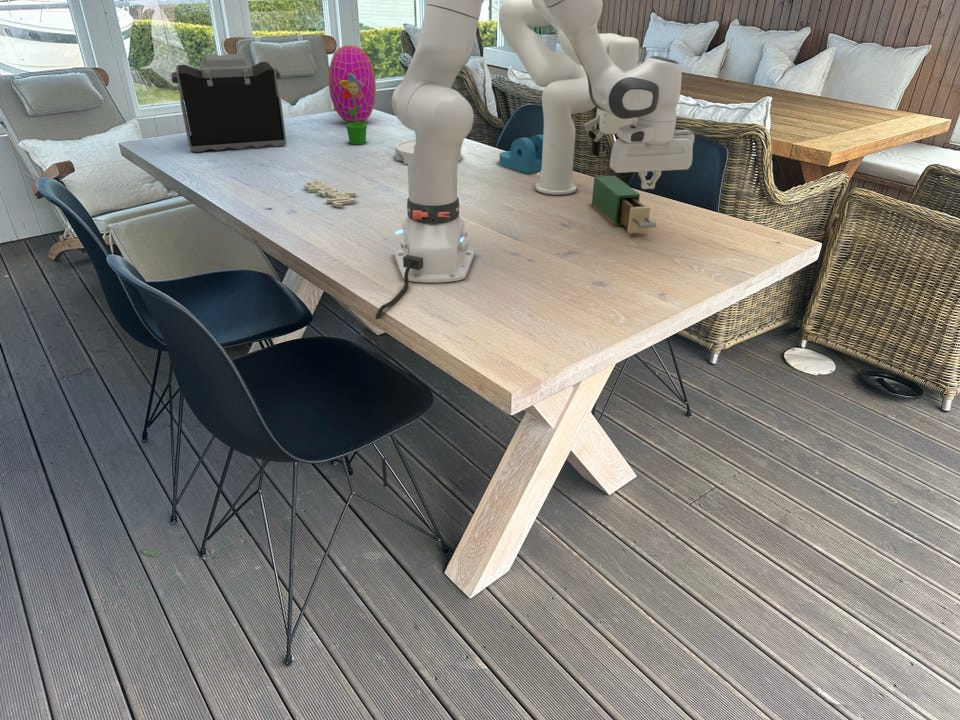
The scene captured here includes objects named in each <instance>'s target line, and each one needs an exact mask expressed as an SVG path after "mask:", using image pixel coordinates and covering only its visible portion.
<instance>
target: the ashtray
mask: <svg viewBox="0 0 960 720" xmlns="http://www.w3.org/2000/svg"><path fill="white" fill-rule="evenodd" d="M415 143H416V138H414V139H408V140H404V141H399V142H398V143H396V144H395V146H394V150H395V151H394V152H395V153H394V154H395V160H396V161H397V162H403V164H404V165H408V163H409V161H410V160H411V159H412V157H413V153H414V149H415ZM461 158H462V149H461V150H460V154H459V159H458V162H459V161H460V160H462V159H461Z"/></svg>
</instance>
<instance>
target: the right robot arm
mask: <svg viewBox="0 0 960 720" xmlns="http://www.w3.org/2000/svg"><path fill="white" fill-rule="evenodd" d="M498 10H499V11H498V24H499V27H500V31H501V35H502V36H503V39H504V40H505V41H506V43H507V44H508V46H509V47H510V48H511V50H512V51H513V52H514V53H515V54H516V55H517V57H518V59H519V61H520V63H521V64H522V65H523V67H524V69H525V71H526V72H527V74H528V75H529V77H530V78H531V80H532V81H533V83H534V84H535V85H536V86H538V87H541V88H544V89H543V91H542V93H541V106H542V115H543V151H542V169H541V171H539V172H536V173H535V176H536V177H537V178H539V181H538V182H536V183H535V186H534V187H535V190H536V191H537V192H539V193H541V194H546V195H551V196H552V195H553V196H565V195H571V194H573V193H575V192H576V191H577V185H576V184H575V183H574V182H573V173H574V172H573V171H574V159H575V158H574V157H575V147H576V125H575V123H574V120H573V118H572V115H574V114H582V113H588V112H590V111H592V110H593V109H595V108H596V106H595V105H594V104H593V103H592V101H591V99H590V95H589V87H588V79H587V75H586V72H585V70H584V68H583V66H582V64H581V62H580V60H579V58H578V56H577V54H576V52H575V50H574V48H573V46H572V44H571V42H570V41H569V39H568V38H567V37H566V35H565V34H564V33H563V31H562V30H561V29H560V28H559V26H558V25H557V24H556V22H555V21H554V19H553V18H552V16H551V15H550V13H549V11H548V9H547V8H546V6H545V4H544V2H543V0H504V1H503V2H502V3H501V4H500V7H499V9H498ZM547 26H552V27H553V28H554V29H555V30H556V31H557V32H558V42H559V45H560V48H561V50H558V51H556V50H555V51H554V50H552V49H550V48H549V47H548V45H546V43H545V41H544V40H543V38H542V37H541V36H540V35H539V34H538V33H537V32H535V31H534V30H532V29H531V28H536V27H537V28H539V27H547ZM599 36H600V38H601V40H602V42H603V44H604V47H605V49H606V51H607V53H608V55H609V57H610V59H611V61H612V62H613V63H614V64H615V65H616V66H617V67H619V68H620V69H622V70H623V71H625V72H626V71H629V70H632V69H634V68H636V67H638V58H639V51H640V41H639V39H637V38H636V37H631V36H621V35H619V34H617V33H610V32H609V33H599ZM635 121H638V117H635V118H630V119H621V118H618V117H616V116H614V115H612V114H610V113H608V112H606V111H603V110H600V109H598V108H597V109H596V114H595V117H594V118H593V119H591V120H589V121H588V122H586V123H584V125H583V126H584V129H585V131H586V134H587V136H588V137H589V138H590V140H592V141H591V153H592V155H593V156H594V157H596V158H598V157H599V156H600V147H601V142H600V140H601V138H602V137H603V136H604V135H617V129H618V128H620V127H623V126H625V125H628V124H631V123H633V122H635ZM593 127H594V132H593V129H592V128H593Z"/></svg>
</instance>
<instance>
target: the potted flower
mask: <svg viewBox="0 0 960 720" xmlns="http://www.w3.org/2000/svg"><path fill="white" fill-rule="evenodd" d="M348 78H349V81H346V80H342V81H341V82H340V83H339V84H340V85H341V86H342V87H343V88H346V89H347V90H345V91H344V93H343V94H342V97H341V99H348V98H350V97H351V96H352V95H353V100H354V110H349V111H348V112H349V114H351V115H355V123H349V122H348V123H347V124H346V125H345V128H346V131H347V136H348V141H349V144H352V145H363V144H366V143H367V129H368V124H367V123H366V122H365V123H364V122H361V123H357V116H356V110H358V109H359V106H356V103H355V95H356V97H357V98H358V99H359V100H362V98H363V93H362V92H361V91H360V90H361V89H363V84H362V82H361V81H358V82H357V83H356V78H355V76H354V75H352V74H350V73H348Z"/></svg>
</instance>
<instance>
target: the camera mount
mask: <svg viewBox="0 0 960 720" xmlns="http://www.w3.org/2000/svg"><path fill="white" fill-rule="evenodd" d="M542 151H543V134H542V133H541V134H535V135H532V136H531V137H530V138H529V137H525V136H524V137H520V138H515V139H514V140H513V141H512V143H511V145H510V150H506V151H502V152H500V153H499V156H498V157H499V159H498V161H499V165H500V166H503V167H506V168H509V169H511V170H515V171H518V172H520V173H524V174H527V175H529V174H534V173H538V172H539V173H540V171H541V169H542Z"/></svg>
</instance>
